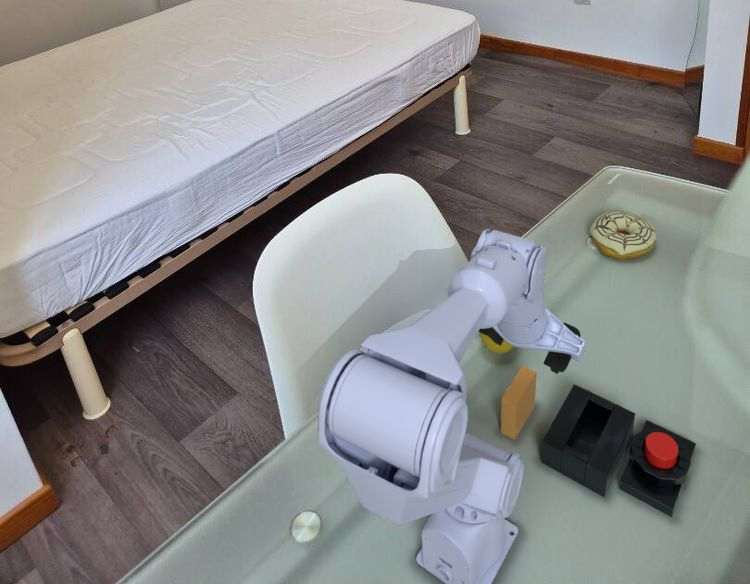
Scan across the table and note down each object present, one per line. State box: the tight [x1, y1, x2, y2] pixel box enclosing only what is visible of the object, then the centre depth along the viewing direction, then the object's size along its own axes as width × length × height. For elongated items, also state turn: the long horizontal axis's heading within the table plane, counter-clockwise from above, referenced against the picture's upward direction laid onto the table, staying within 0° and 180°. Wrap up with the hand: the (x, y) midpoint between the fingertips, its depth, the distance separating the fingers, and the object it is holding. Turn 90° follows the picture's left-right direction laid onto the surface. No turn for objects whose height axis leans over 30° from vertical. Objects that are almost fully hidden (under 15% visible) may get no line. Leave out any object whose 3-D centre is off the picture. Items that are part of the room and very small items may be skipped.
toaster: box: [540, 383, 636, 498], centre depth 85 cm, size 10×8×4 cm
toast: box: [500, 365, 538, 441], centre depth 89 cm, size 6×2×6 cm, turn 143°
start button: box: [644, 432, 678, 469], centre depth 82 cm, size 4×4×2 cm
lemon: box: [479, 332, 515, 354], centre depth 99 cm, size 6×6×8 cm
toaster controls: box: [618, 419, 697, 518], centre depth 83 cm, size 10×6×3 cm, turn 143°
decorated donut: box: [589, 210, 657, 260], centre depth 120 cm, size 10×11×4 cm
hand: (529, 351), depth 87 cm, fingers open, 7 cm apart
